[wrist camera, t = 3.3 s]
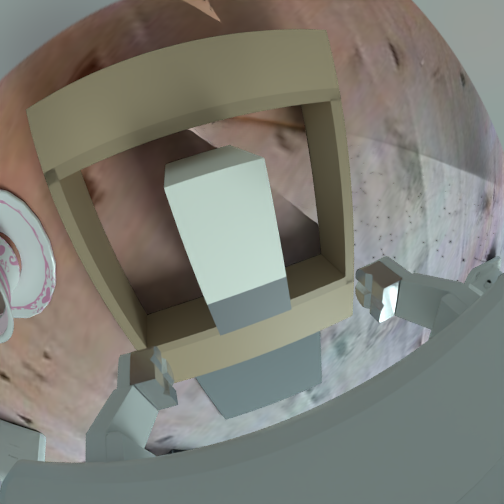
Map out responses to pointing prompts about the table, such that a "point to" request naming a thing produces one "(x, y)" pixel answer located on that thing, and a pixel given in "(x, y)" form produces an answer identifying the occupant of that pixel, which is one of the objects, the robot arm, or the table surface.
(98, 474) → the robot arm
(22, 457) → the photo printer
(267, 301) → the box
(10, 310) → the teacup
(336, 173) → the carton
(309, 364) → the slate mat
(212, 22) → the table surface
